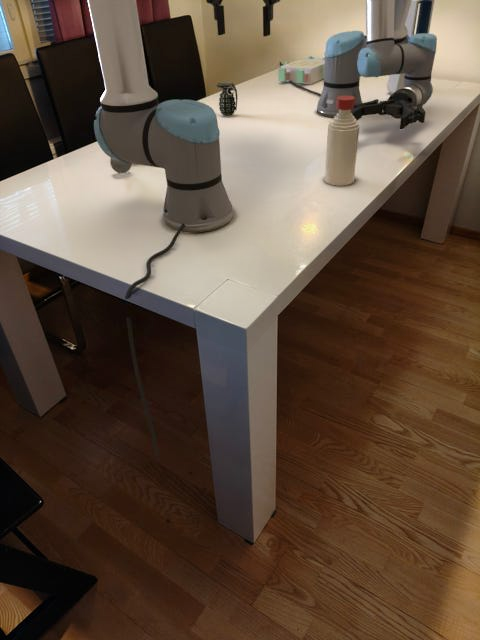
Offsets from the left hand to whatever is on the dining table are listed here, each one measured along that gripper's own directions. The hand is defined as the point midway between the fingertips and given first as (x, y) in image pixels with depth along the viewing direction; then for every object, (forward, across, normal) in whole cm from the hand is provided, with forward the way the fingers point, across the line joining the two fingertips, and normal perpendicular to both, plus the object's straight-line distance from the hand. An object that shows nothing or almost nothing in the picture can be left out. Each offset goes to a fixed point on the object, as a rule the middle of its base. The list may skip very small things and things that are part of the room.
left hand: (243, 35), depth 129 cm
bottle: (+28, -35, +18) cm, 48 cm away
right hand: (+18, -38, 0) cm, 42 cm away
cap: (+9, -35, +18) cm, 40 cm away
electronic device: (+28, -30, -69) cm, 80 cm away
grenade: (+28, +19, -22) cm, 41 cm away
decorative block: (+28, +15, -82) cm, 88 cm away
